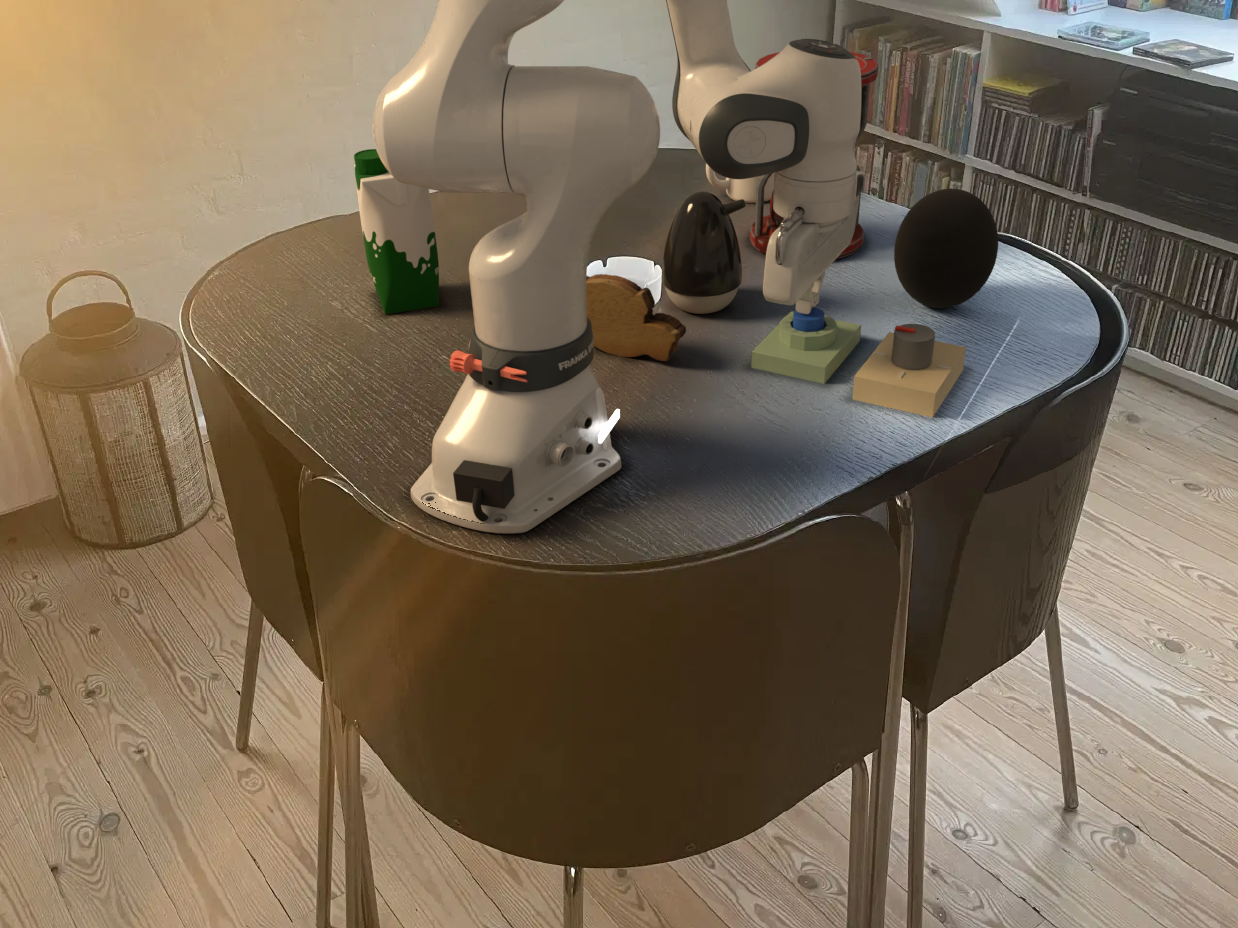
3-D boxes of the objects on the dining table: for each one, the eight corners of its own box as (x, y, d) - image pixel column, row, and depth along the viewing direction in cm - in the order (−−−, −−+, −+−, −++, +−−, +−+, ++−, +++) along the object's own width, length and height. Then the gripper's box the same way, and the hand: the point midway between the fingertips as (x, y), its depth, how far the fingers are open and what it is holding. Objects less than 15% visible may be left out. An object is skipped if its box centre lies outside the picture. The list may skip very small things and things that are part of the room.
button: (817, 336, 135) (818, 322, 134) (788, 330, 136) (788, 316, 136) (828, 323, 138) (829, 310, 137) (799, 318, 139) (800, 304, 138)
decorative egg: (926, 277, 157) (939, 167, 149) (1008, 304, 149) (1026, 189, 141) (869, 305, 150) (879, 191, 142) (951, 335, 142) (967, 217, 134)
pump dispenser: (738, 325, 146) (741, 208, 138) (655, 320, 148) (653, 204, 140) (747, 291, 154) (750, 179, 146) (669, 287, 156) (668, 176, 148)
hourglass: (736, 226, 174) (740, 53, 161) (840, 216, 176) (852, 44, 163) (769, 268, 161) (776, 82, 147) (880, 256, 163) (898, 72, 150)
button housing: (824, 384, 133) (826, 352, 131) (751, 368, 137) (752, 337, 134) (860, 341, 141) (862, 311, 139) (790, 327, 145) (791, 297, 143)
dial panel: (932, 417, 126) (936, 392, 124) (852, 399, 130) (854, 374, 128) (963, 370, 134) (966, 345, 133) (886, 354, 138) (889, 330, 137)
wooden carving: (692, 356, 139) (692, 278, 134) (677, 373, 136) (676, 294, 131) (570, 333, 146) (566, 257, 140) (553, 348, 142) (547, 272, 137)
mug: (715, 210, 180) (716, 144, 174) (696, 193, 187) (696, 129, 181) (787, 199, 183) (790, 134, 177) (765, 183, 190) (767, 119, 184)
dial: (936, 356, 131) (940, 325, 129) (925, 373, 128) (929, 341, 126) (897, 348, 133) (901, 318, 131) (886, 365, 130) (889, 334, 128)
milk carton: (369, 292, 158) (346, 146, 147) (436, 282, 160) (418, 137, 149) (379, 319, 151) (355, 167, 140) (448, 308, 153) (430, 157, 142)
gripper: (807, 231, 120) (800, 351, 127) (870, 169, 135) (861, 280, 142) (750, 222, 123) (746, 340, 130) (818, 162, 137) (811, 271, 145)
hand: (807, 308), depth 136 cm, fingers closed
